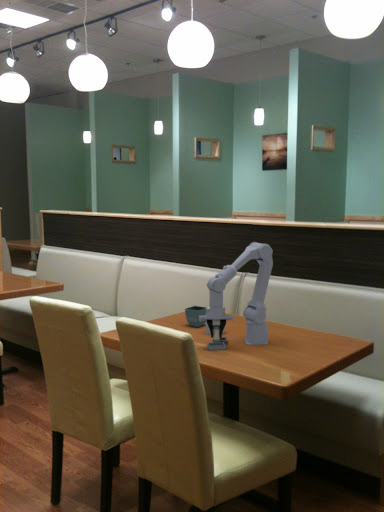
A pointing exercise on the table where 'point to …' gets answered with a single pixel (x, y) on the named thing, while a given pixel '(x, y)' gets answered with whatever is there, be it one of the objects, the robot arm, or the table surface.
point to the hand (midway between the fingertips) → (216, 337)
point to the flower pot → (195, 315)
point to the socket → (224, 340)
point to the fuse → (216, 333)
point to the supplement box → (215, 322)
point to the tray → (216, 346)
